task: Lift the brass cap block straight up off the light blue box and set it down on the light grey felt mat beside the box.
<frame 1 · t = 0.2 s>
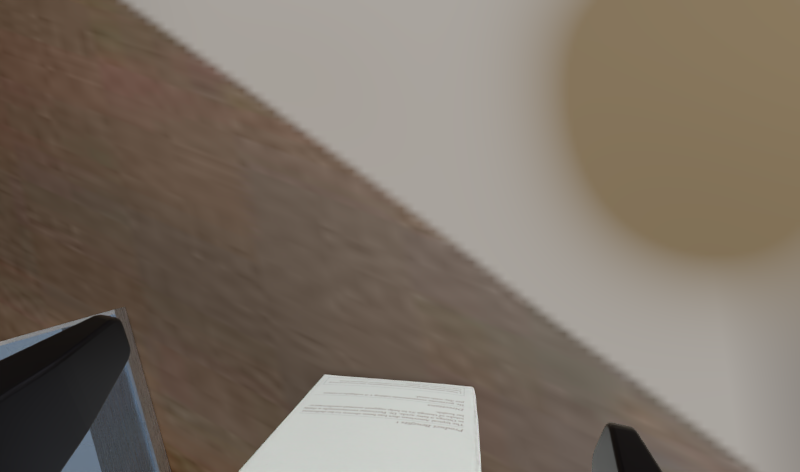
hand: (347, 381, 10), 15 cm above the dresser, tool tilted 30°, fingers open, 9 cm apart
supplement box: (396, 453, 25), on the dresser
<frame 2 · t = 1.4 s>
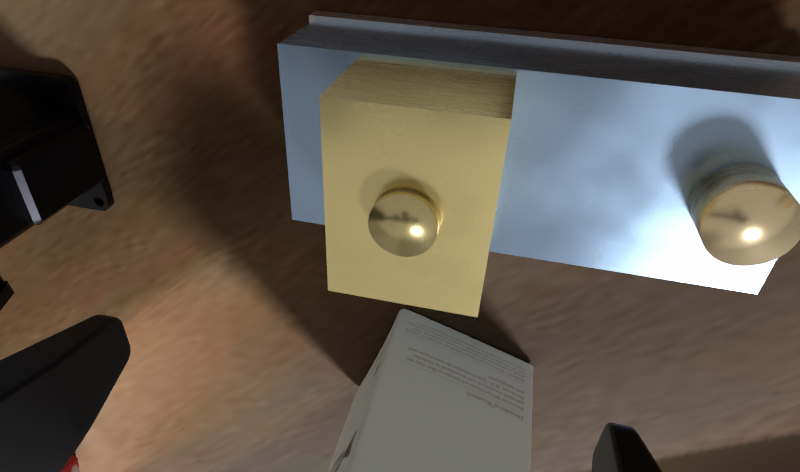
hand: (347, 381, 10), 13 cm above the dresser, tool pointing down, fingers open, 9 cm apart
supplement box: (439, 373, 28), on the dresser
light blue box: (527, 124, 19), on the dresser
lever cap: (429, 160, 17), point 4 cm above the dresser, touching light blue box
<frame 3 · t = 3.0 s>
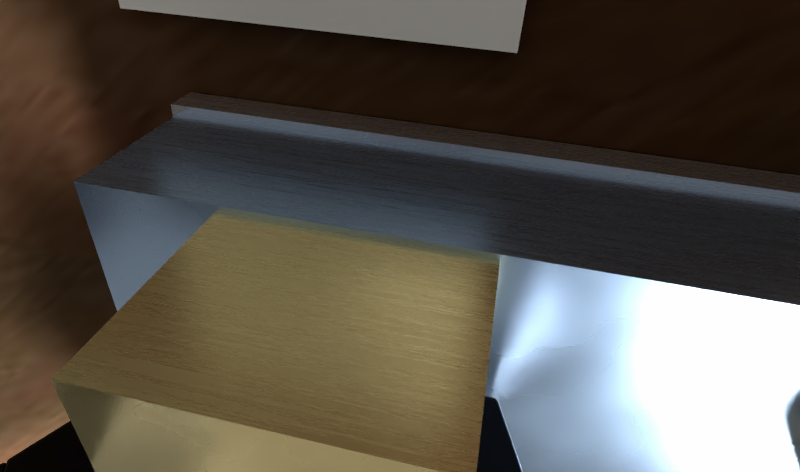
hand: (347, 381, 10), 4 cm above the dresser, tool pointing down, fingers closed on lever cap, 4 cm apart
light blue box: (523, 267, 13), on the dresser
lever cap: (351, 368, 10), point 4 cm above the dresser, touching gripper, light blue box
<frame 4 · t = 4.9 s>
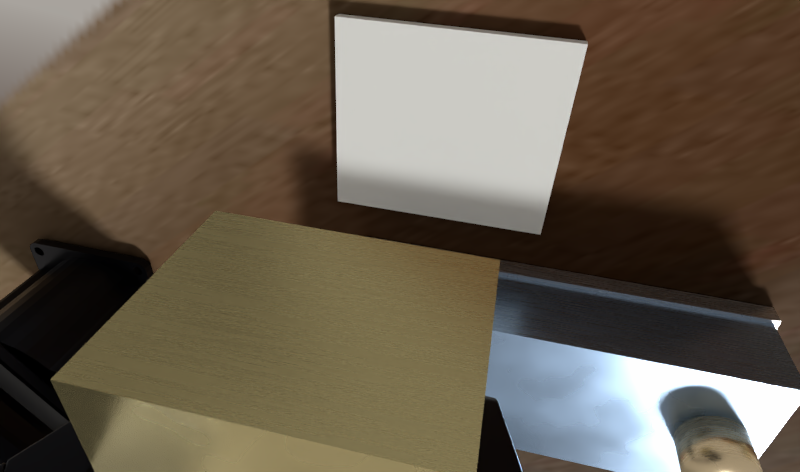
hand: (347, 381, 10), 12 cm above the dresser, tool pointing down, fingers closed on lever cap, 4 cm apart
light blue box: (540, 328, 23), on the dresser
lever cap: (351, 368, 10), point 11 cm above the dresser, touching gripper
felt mat: (446, 129, 19), on the dresser
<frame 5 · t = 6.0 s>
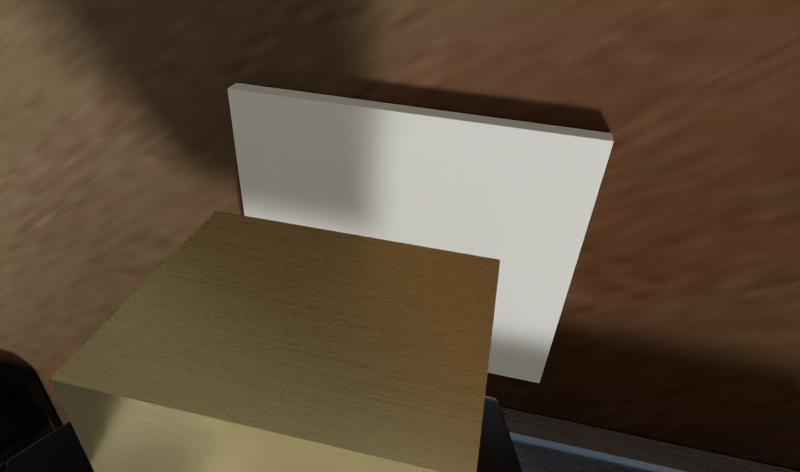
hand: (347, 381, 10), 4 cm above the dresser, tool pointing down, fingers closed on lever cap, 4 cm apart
lever cap: (351, 368, 10), point 4 cm above the dresser, touching gripper
felt mat: (403, 242, 13), on the dresser
when the fingers open (2 cm above the dresser, at t = 6.8 s): lever cap drops 2 cm, resting on felt mat.
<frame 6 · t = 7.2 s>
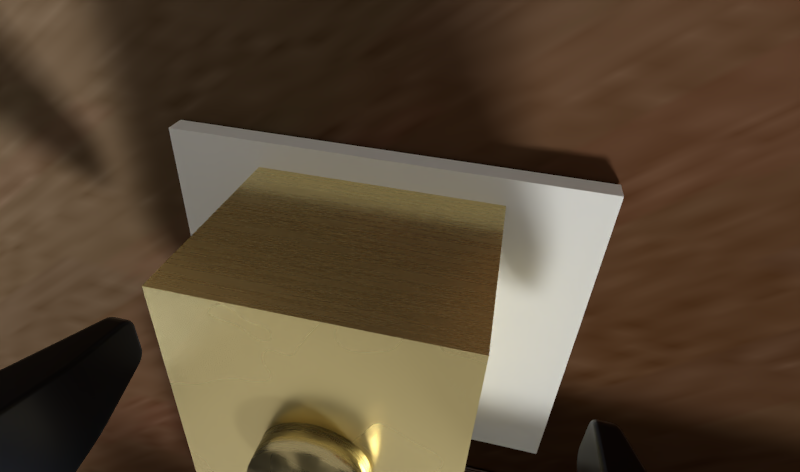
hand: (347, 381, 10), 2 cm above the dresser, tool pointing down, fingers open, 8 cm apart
lever cap: (373, 311, 11), resting on felt mat
felt mat: (380, 299, 11), on the dresser
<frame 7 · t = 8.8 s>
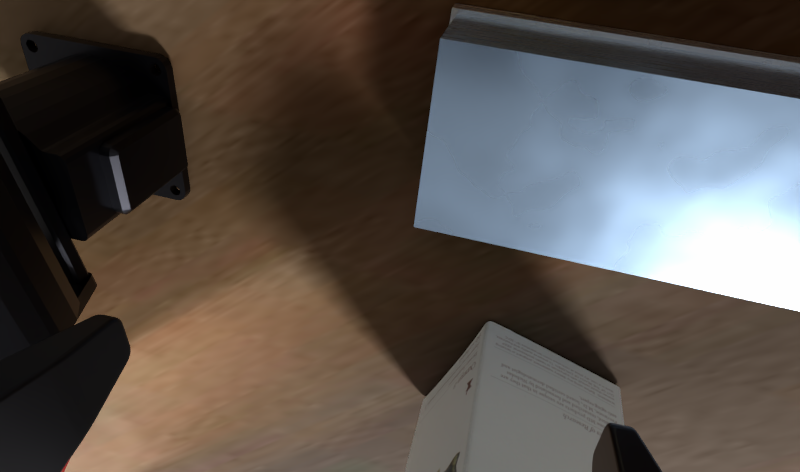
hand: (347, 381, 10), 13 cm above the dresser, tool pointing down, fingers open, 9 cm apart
supplement box: (514, 388, 27), on the dresser
light blue box: (668, 139, 18), on the dresser
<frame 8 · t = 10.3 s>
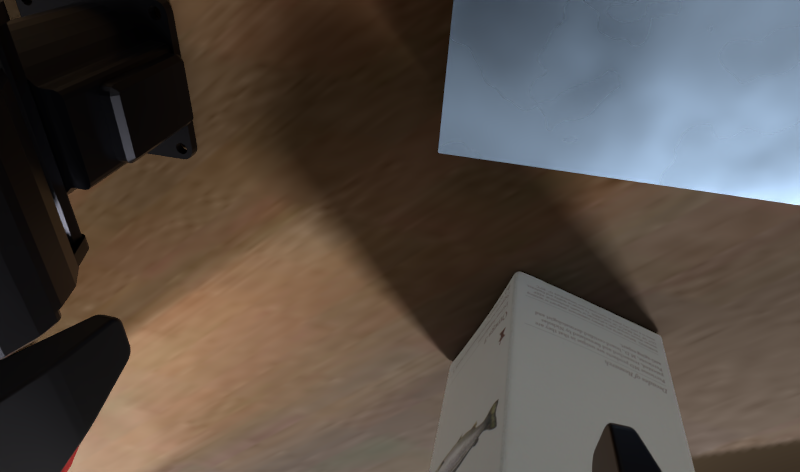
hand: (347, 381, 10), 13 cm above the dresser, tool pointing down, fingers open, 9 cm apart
supplement box: (546, 346, 26), on the dresser
light blue box: (708, 46, 17), on the dresser
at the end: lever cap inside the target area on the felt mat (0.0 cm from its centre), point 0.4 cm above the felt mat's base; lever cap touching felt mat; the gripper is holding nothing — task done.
